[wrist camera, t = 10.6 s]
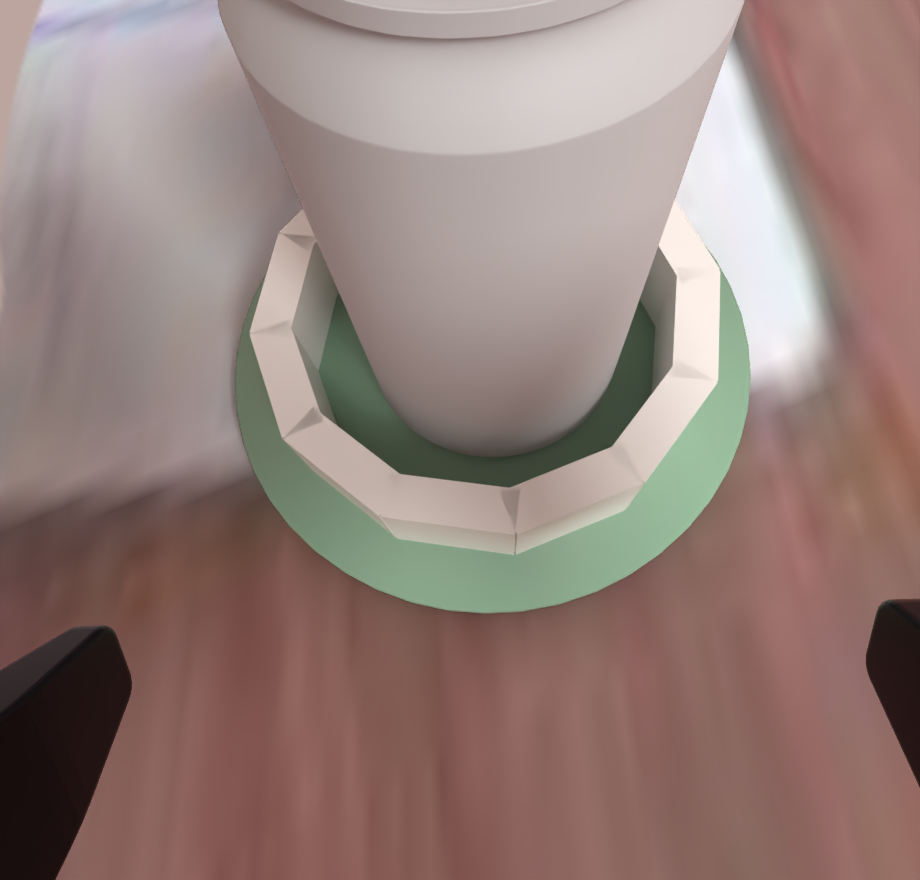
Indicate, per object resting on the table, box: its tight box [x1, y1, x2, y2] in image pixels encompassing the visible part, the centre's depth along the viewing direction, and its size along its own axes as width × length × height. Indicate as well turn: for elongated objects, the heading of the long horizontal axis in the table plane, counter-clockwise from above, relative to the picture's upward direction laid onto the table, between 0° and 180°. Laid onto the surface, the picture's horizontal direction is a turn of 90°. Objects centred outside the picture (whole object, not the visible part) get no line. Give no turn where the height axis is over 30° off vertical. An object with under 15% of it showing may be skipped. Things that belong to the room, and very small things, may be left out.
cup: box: [235, 200, 750, 614], centre depth 17 cm, size 14×14×3 cm
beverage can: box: [218, 0, 745, 457], centre depth 12 cm, size 6×6×12 cm
